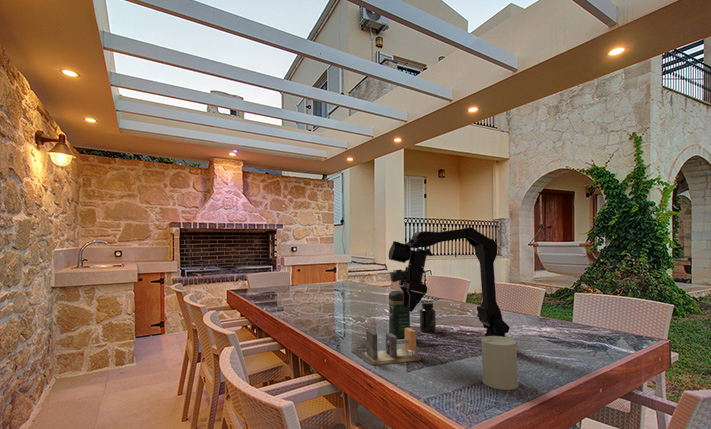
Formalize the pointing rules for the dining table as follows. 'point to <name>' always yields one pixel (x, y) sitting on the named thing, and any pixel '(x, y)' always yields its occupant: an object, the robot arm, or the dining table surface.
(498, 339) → the can
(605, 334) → the dining table surface
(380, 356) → the wooden base with posts
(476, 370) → the dining table surface
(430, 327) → the supplement bottle
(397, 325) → the coffee jar
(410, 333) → the plunger
